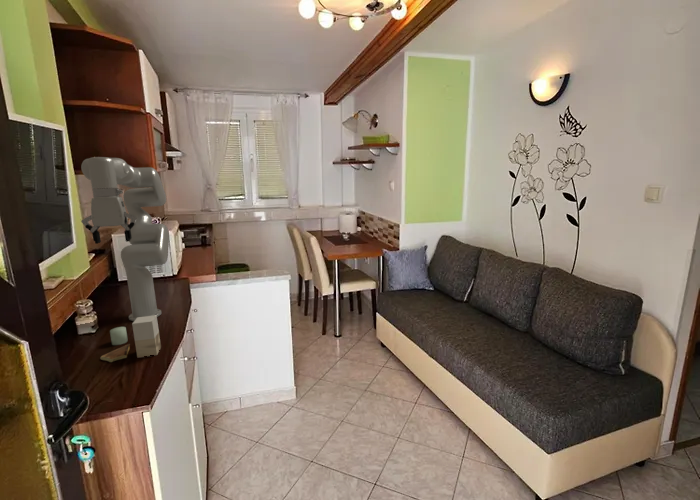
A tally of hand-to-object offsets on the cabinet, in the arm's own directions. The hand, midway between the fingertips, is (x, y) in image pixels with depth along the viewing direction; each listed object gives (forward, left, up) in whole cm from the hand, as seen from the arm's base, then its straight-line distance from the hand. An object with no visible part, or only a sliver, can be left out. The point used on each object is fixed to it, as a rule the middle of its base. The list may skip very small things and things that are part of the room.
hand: (113, 242), depth 136 cm
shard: (+14, 0, -37) cm, 40 cm away
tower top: (+16, +11, -31) cm, 36 cm away
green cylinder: (+3, -2, -37) cm, 37 cm away
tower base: (+16, +11, -37) cm, 41 cm away
